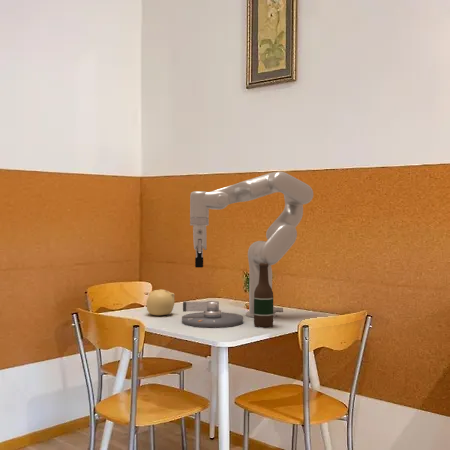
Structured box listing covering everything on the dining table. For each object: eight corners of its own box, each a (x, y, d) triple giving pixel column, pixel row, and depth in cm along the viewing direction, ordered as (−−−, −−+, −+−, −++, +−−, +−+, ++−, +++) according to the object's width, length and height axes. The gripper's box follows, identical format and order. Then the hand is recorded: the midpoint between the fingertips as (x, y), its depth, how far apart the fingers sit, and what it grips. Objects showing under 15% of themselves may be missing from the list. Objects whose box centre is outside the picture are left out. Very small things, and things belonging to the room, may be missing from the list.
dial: (220, 314, 247) (220, 300, 247) (222, 317, 240) (222, 303, 240) (182, 315, 246) (182, 300, 246) (183, 318, 239) (183, 303, 239)
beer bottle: (258, 328, 231) (259, 264, 231) (249, 324, 238) (250, 262, 238) (277, 326, 234) (277, 263, 234) (267, 323, 241) (268, 262, 241)
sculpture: (177, 313, 265) (177, 287, 265) (169, 317, 253) (169, 291, 253) (151, 312, 267) (151, 287, 267) (142, 316, 255) (142, 290, 255)
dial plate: (239, 316, 257) (239, 311, 257) (246, 327, 233) (246, 321, 233) (181, 317, 255) (181, 311, 255) (182, 328, 231) (182, 322, 231)
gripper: (209, 222, 242) (209, 269, 243) (207, 221, 257) (207, 265, 258) (190, 222, 242) (190, 269, 242) (189, 221, 257) (189, 265, 257)
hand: (199, 267), depth 250 cm, fingers closed
